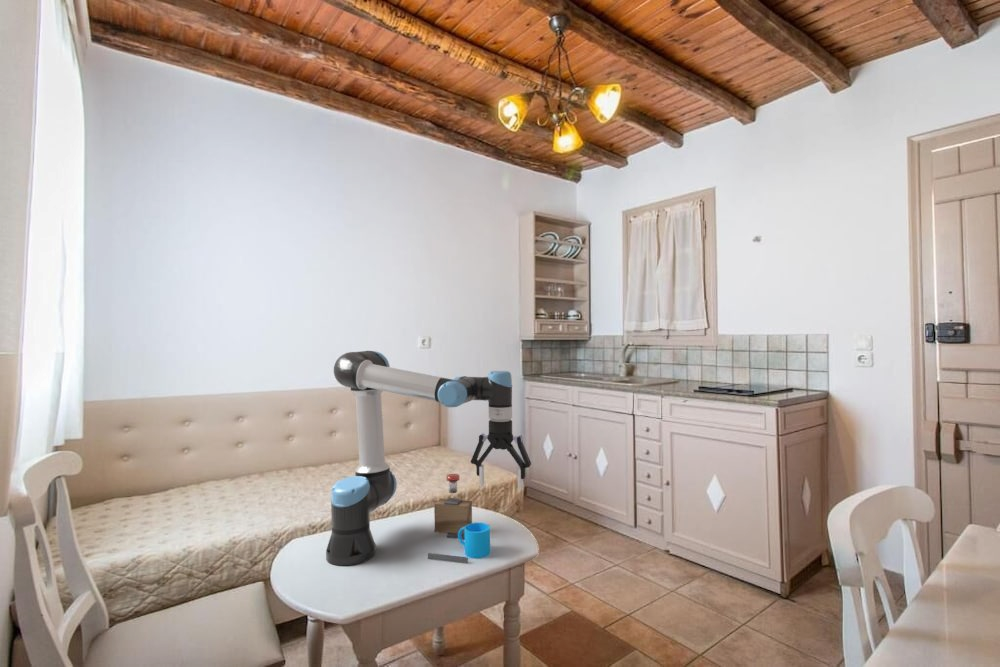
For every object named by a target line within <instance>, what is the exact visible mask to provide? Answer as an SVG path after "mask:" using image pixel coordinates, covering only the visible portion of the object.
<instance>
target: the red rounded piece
mask: <svg viewBox="0 0 1000 667" xmlns="http://www.w3.org/2000/svg"><path fill="white" fill-rule="evenodd" d="M459 480H460V474H458V473H449V474H447V475H446V481H447V482H448V493H450V494H456V493H458V481H459Z"/></svg>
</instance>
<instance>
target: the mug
mask: <svg viewBox="0 0 1000 667" xmlns="http://www.w3.org/2000/svg"><path fill="white" fill-rule="evenodd" d="M464 529H465V540H464V539H462V536H461V533H462V531H463V530H464ZM458 538H459V539H458V540H459V543H460V544H461V546H462V547H463V548H464V555H465V557H468V559H473V560H474V559H477V560H478V559H484V558H487V557H488V556H489V555H490V554H491V526H490V525H489V524H488V523H485V522H472V523H471V524H468V525H466V526H465V527H462V528H461V529H460V530H459V532H458Z"/></svg>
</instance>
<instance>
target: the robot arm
mask: <svg viewBox="0 0 1000 667" xmlns="http://www.w3.org/2000/svg"><path fill="white" fill-rule="evenodd" d="M333 375H334V378H335V379H336V381H337V383H338V384H340V385H342V386H344V387H346V388H350V392H351V393H352V394H354V395H355V396H354V397H355V406H356V407H355V409H356V424H357V425H356V426H357V427H356V428H357V440H358V441H357V442H358V443H357V445H358V460H359V461H358V462H359V465H358V466H357V467H356V469H355V471H354V472H355V476H354V475H353V476H349V477H344V478H341V479H340V480H338V481H337V482H335V483H334V484H333V485H332V487H331V495H330V503H331V504H330V506H331V509H330V510H331V511H330V512H331V535H330V538H329V541H328V544H327V547H326V549H325V550H326V551H325V560H326V561H327V562H328V563H329V564H331V565H335V566H350V565H351V566H352V565H357V564H361V563H363V562H366V561H368V560H370V559H371V558H373V556H375V554H376V542H375V540H374V537H373V534H372V531H371V527H370V524H371V523H370V513H373V512H374V511H375V510H377V509H378V508H380V507H381V506H383V505H385V504H387V503H388V502H389V501H390V500H391V499H392V498H393V497H394V495H395V493H396V490H397V484H398V483H397V479H396V476H395V474H393V472H392V471H391V467H390V464H389V463H387V462H386V457H385V455H386V454H385V439H384V425H383V424H384V423H383V421H384V420H383V404H382V392H389V393H392V394H398V395H402V396H407V397H412V398H416V399H421V400H426V401H431V402H436V403H440V404H441V405H442V406H444V407H446V408H457V407H460V406H462V405H464V404H466V403H468V402H471V401H487V402H488V419H489V420H488V434H485V433H481V434H480V435H478V443H477V445H476V448H475V450H474V452H473V455H472V456H471V460H470V463H471V464H472V465H475V466H476V470H475V471H476V476H477V477H479V480H478V481H479V484H478V486H479V488H482V487H483V486H485V464H484V463H483V462H484V461H485V459H486V458H487V457H488V456H489V454H490V453H491V452H492V450H494V449H495V450H502V451H504V450H505V451H507V452H509V454H510V456H512V458H513V459H514V461H515V463H517V465H518V467H519V468H517V490H518V491H521V490H522V489H523V480H525V479H526V469H527V468H530V466H532V462H531V460H530V456H529V454H528V451H527V450H526V448H525V444H524V443H523V442H524V441H523V436H522V435H518V436H516V435H513V420H512V419H513V382H512V381H513V380H512V378H513V377H512V374H511V372H510V371H507V370H491V371H489V372H488V375H487V376H483V377H482V376H466V375H465V376H456V377H454V378H453V379H451V378H446V377H441V376H437V375H436V376H435V375H431V374H426V373H421V372H415V371H410V370H405V369H401V368H395V367H390V363H389V360H388V358H387V357H386V356H385V355H384V354H383V353H381V352H379V351H377V350H364V351H350V352H345V353H344V354H342V355H340V356H339V357H338V358H337V359H336V360H335V363H334V366H333ZM487 440H488V442H489V443H490V444H489V445H488V446H487V448H486V449H485V451H484V452H483V453H482V455H481V456H480V457H479V455H480V453H481V451H482V448H483V446H484V443H485V442H486V441H487ZM512 442H515V444H517V447H518V450H519V452H520V454H519V453H518V452H517V451H516V449H515V447H514V445H513V444H512ZM520 455H521V456H522V457H521V456H520ZM478 458H479V459H478ZM482 463H483V464H482Z"/></svg>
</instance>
